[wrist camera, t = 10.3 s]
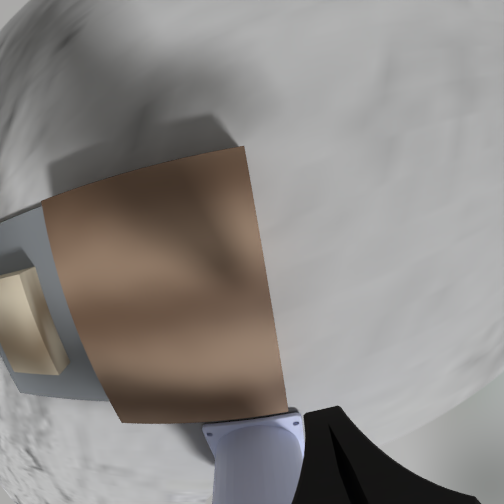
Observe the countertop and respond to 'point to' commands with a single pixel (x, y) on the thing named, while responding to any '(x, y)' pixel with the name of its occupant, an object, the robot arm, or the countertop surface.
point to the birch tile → (29, 326)
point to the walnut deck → (171, 290)
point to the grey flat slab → (40, 256)
